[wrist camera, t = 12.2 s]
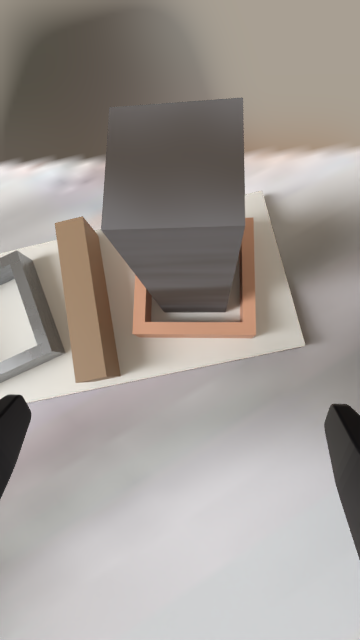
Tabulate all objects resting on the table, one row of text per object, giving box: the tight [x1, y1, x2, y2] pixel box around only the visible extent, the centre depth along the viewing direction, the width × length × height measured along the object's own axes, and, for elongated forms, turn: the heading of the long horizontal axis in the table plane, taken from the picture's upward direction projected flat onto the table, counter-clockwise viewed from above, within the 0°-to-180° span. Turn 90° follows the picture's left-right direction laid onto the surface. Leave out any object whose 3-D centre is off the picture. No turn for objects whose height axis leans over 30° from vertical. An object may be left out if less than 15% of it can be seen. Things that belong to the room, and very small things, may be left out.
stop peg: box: [101, 98, 245, 313], centre depth 16 cm, size 4×4×13 cm
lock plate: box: [0, 191, 305, 403], centre depth 22 cm, size 28×12×4 cm, turn 101°
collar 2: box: [132, 218, 256, 338], centre depth 21 cm, size 8×8×2 cm
